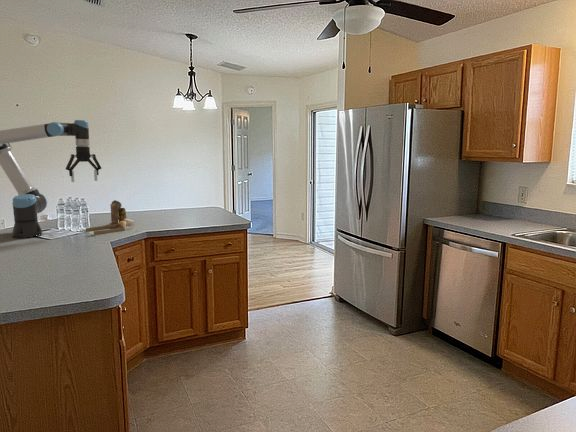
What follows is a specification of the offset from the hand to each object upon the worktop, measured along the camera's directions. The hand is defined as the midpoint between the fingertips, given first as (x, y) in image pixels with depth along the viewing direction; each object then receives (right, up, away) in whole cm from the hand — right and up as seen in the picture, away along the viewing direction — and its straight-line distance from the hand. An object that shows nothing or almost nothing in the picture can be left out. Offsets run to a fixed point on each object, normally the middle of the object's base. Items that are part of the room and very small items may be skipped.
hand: (84, 181), depth 270 cm
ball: (+22, -27, +2) cm, 35 cm away
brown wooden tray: (+17, -32, -2) cm, 36 cm away
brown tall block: (+19, -30, -1) cm, 35 cm away
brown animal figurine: (+15, -28, +18) cm, 36 cm away
